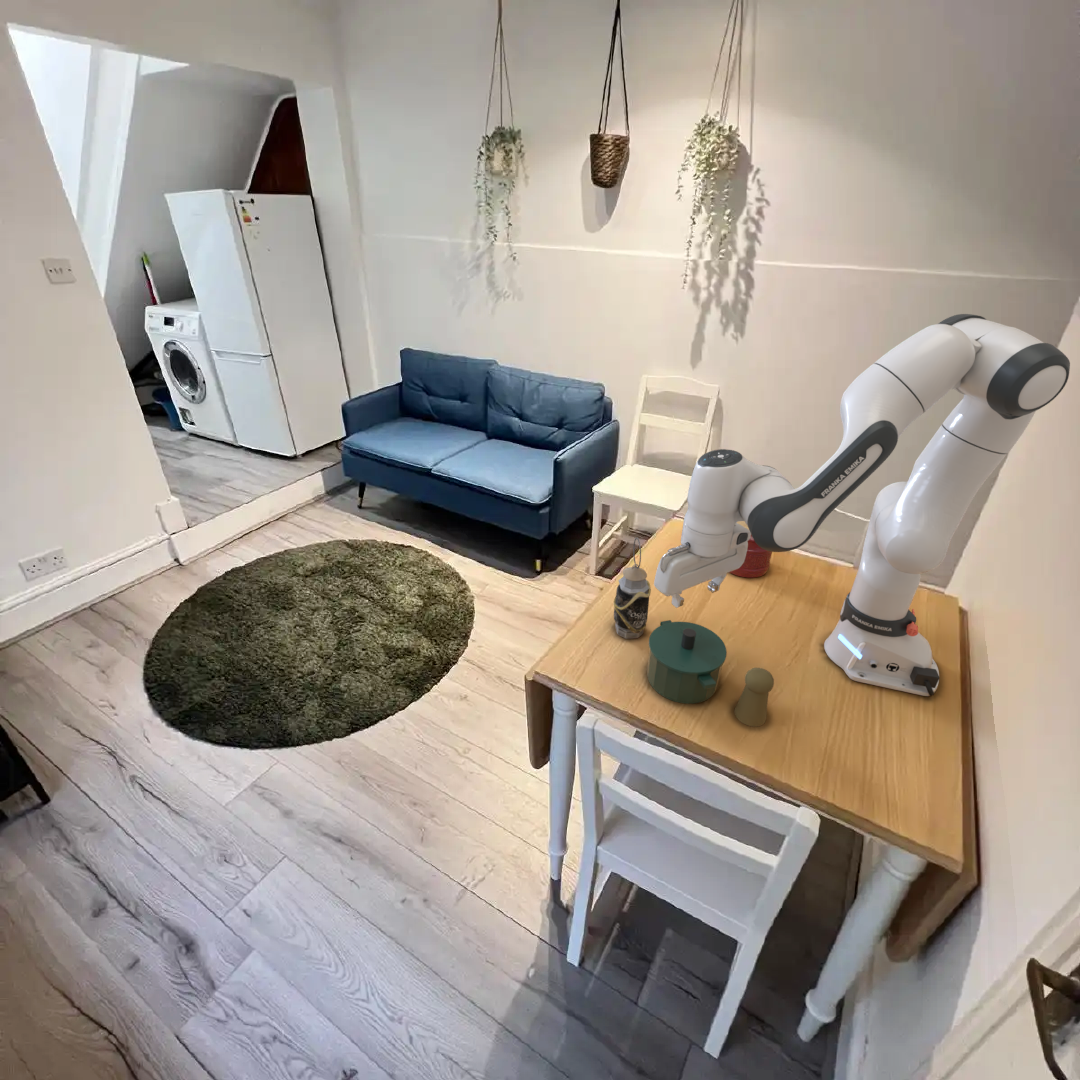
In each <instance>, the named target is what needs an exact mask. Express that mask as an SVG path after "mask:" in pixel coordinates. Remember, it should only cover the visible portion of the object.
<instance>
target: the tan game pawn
mask: <svg viewBox="0 0 1080 1080" xmlns="http://www.w3.org/2000/svg"><path fill="white" fill-rule="evenodd" d="M744 684H745V685H744V688H743V690H742V692H741V694H740V696H739V698H738V701H737V703H736V705H735V708H734V716H735V717H736V719H737V720H738V721H739V722H740V723H742V724H743V725H746V726H749V727H753V728H755V727H756V728H758V727H761V726H763V725H764V724H765V723H766V721H767V715H768V714H767V713H768V702H769V693H770V692H771V691H772V690H773V688H774V686H775V679H774V676H773V674H772V673H771V672H770V671H768V670H767V669H765V668H762V667H753V668H750V669H748V671H747V672H746V673H745V675H744Z"/></svg>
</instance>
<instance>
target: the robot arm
mask: <svg viewBox="0 0 1080 1080" xmlns="http://www.w3.org/2000/svg"><path fill="white" fill-rule="evenodd" d="M1070 369H1071V362H1070V359H1069V357H1068V356H1067V355H1066V354H1065V353H1063V351H1061V350H1060V349H1059V348H1058V347H1056V346H1055V345H1053V344H1051V343H1048V342H1044V341H1042V340H1041V339H1038V338H1037V337H1036V336H1033V335H1032V334H1030V333H1029V332H1026V331H1024V330H1022V329H1020V328H1017V327H1015V326H1008V325H1006V324H1003V323H999V322H996V321H993V320H988V319H987V318H986V317H984V316H982V315H977V314H971V313H959V314H955V315H951V316H948V317H947V318H945V319H943V320H941V321H940V322H938V323H936V324H931V325H928V326H926V327H924V328H922V329H921V330H919V331H917V332H916V333H914V334H912V335H911V336H909V337H907V338H906V339H904V340H903V341H901V342H900V343H899V344H897V345H895V346H894V347H893V348H891V349H890V350H889V351H887V352H886V353H885V354H883V355H882V356H881V357H880V358H877V360H876V361H874V362H873V363H872V364H871V365H870V366H868V367H867V368H866V369H865V370H863V371H862V372H861V373H860V374H859V375H857V377H855V378H854V380H852V382H851V383H850V384H849V385H848V386H847V388H846V389H845V391H843V393H842V395H841V399H840V403H839V404H840V406H839V416H840V420H841V424H842V429H843V430H842V432H843V433H842V440H841V443H840V444H839V446H838V448H837V450H836V451H835V453H833V454H832V456H830V457H829V459H827V461H825V462H824V463H823V464H822V465H821V466H820V467H819V468H818V469H817V470H816V471H815V472H814V473H813V474H812V475H811V476H810V477H808V478H807V479H806V481H805V482H804V483H803V484H801V485H800V486H798V487H796V488H795V487H794V486H793V485H792V484H791V482H790V481H789V480H788V479H787V478H786V476H784V475H783V474H782V472H780V470H778V469H776V468H775V467H773V466H770V465H762V464H758V463H755V462H754V461H752V460H749V459H748V458H746V457H745V456H743V455H742V453H741V452H739V451H738V450H737V451H736V450H733V449H727V448H720V449H714V450H711V451H708V452H705V453H703V454H702V455H701V456H700V457H699V458H698V459H697V461H696V463H695V465H694V467H693V470H692V473H691V477H690V480H689V481H690V482H689V487H688V491H687V497H686V500H687V501H686V502H687V511H686V512H685V514H684V517H683V523H682V530H681V537H680V545H677V546H675V547H671V548H669V549H668V550H667V552H665V554H663V555H662V556H661V557H660V560H659V561H658V565H657V568H656V571H655V576H654V581H653V586H654V588H655V589H656V590H657V591H658V592H659V593H661V594H662V595H663V596H666V597H670V596H671V597H672V598H671V605H672V606H673V607H675V608H676V609H677V608H679V607H680V608H681V607H682V606H684V602H685V598H684V597H683V596H681V595H682V594H683V591H685V590H688V589H690V588H693V587H695V586H698V585H700V584H703V583H706V582H708V583H707V590H708V591H709V592H711V593H712V594H714V593H716V592H719V591H720V586H721V585H722V584H723V582H724V580H725V579H726V577H727V574H728V573H730V572H731V571H733V570H736V569H738V568H740V567H741V566H742V564H743V563H744V561H745V557H746V553H747V548H748V542H747V541H748V540H749V539H750V537H751V535H752V537H753V539H754V541H755V543H756V544H757V545H758V546H759V547H761V548H762V549H764V550H767V551H771V552H772V553H785V552H790V551H794V550H796V549H799V548H800V547H802V546H804V545H805V544H806V543H807V542H809V541H810V539H812V537H813V536H814V535H815V534H816V532H817V530H818V529H819V528H820V526H821V524H823V522H824V521H825V520H826V519H827V518H828V517H829V515H830V514H831V513H832V512H833V511H835V509H836V508H838V506H839V505H841V504H842V503H843V502H844V501H845V500H846V499H847V498H848V497H850V495H851V494H852V493H853V492H855V491H856V490H857V488H859V487H860V486H861V485H862V484H863V483H864V482H865V481H866V480H868V479H869V477H870V476H871V475H873V473H874V472H875V471H876V470H878V468H880V467H881V465H883V463H884V462H885V461H886V460H887V459H888V458H889V457H890V456H891V454H892V453H893V452H894V451H895V449H896V447H897V444H898V441H899V438H900V437H901V436H902V434H903V433H904V432H905V431H906V430H907V429H908V428H909V426H911V425H912V424H913V423H914V422H915V421H916V420H917V419H919V418H920V417H921V416H923V414H925V413H926V412H927V411H928V410H930V409H931V408H932V407H933V406H935V405H936V404H937V403H938V402H939V401H941V399H943V398H944V397H945V396H946V395H947V394H948V393H949V392H950V391H951V390H955V391H957V392H958V393H960V394H962V395H963V398H962V399H961V400H960V401H959V402H958V403H957V404H956V406H955V407H954V408H952V410H951V412H950V413H949V414H948V415H947V416H946V418H945V419H944V421H943V422H942V423H941V425H940V426H939V428H938V429H937V430H936V432H935V433H934V434H933V436H932V437H931V439H930V440H929V441H928V443H927V444H926V446H925V447H924V449H923V450H922V451H921V452H920V454H919V455H918V457H917V459H916V460H915V461H914V464H913V466H912V470H911V473H910V475H909V478H908V480H907V481H897V482H893V483H890V484H888V485H886V486H884V487H883V488H882V489H881V490H879V492H878V494H877V495H876V497H875V500H874V503H873V507H872V510H871V514H870V518H869V522H868V525H867V530H866V534H865V537H864V538H865V539H864V542H863V548H862V553H861V557H860V562H859V564H858V565H859V566H858V569H857V572H856V574H855V577H854V580H853V583H852V587H851V589H850V592H849V593H847V594H846V597H845V599H844V601H843V603H842V607H841V610H840V613H839V620H838V622H837V624H836V626H835V627H834V629H833V630H832V632H831V633H830V634H829V635H828V637H827V638H826V639H825V640H824V643H823V648H824V651H825V654H826V655H827V657H828V658H829V659H830V660H831V661H832V662H833V663H834V664H835V665H837V666H838V667H839V668H841V669H842V670H843V671H844V673H845V674H846V676H847V677H848V678H849V679H850V680H852V681H855V682H857V683H863V684H868V685H872V686H877V687H881V688H886V689H890V690H895V691H899V692H904V693H909V694H913V695H918V696H923V697H930V696H934V695H935V693H936V691H937V689H938V687H939V684H940V683H939V682H940V671H939V667H938V665H937V663H936V661H935V660H934V658H933V651H932V647H931V644H930V642H929V641H928V639H927V638H926V637H925V636H924V635H922V634H921V633H920V632H919V627H918V625H917V624H916V623H917V616H916V612H915V609H914V608H912V610H910V607H911V605H912V603H913V600H914V599H915V595H916V593H917V590H918V588H919V587H920V586H919V585H920V583H921V574H925V573H928V572H931V571H933V570H935V569H936V568H938V567H940V565H941V564H942V563H943V562H944V560H945V559H946V556H947V553H948V550H949V546H950V543H951V540H952V538H953V536H954V534H955V532H956V531H957V529H958V528H959V525H960V524H961V522H962V520H963V518H964V517H965V514H966V512H967V511H968V508H969V507H970V505H971V503H972V501H973V500H974V498H975V497H976V495H977V493H978V491H979V490H980V489H981V488H982V486H983V484H984V483H985V482H986V480H988V478H990V476H991V475H992V473H993V472H994V471H995V470H996V468H997V467H998V466H999V465H1000V464H1001V463H1002V461H1003V460H1004V459H1005V458H1006V456H1007V455H1008V454H1009V453H1010V452H1011V450H1012V449H1013V448H1014V446H1015V445H1016V444H1017V442H1018V441H1019V439H1020V438H1021V437H1022V436H1023V434H1024V432H1025V430H1026V429H1027V427H1028V426H1029V424H1030V422H1031V421H1032V419H1033V417H1034V416H1035V414H1036V412H1037V411H1038V410H1039V411H1040V410H1041V409H1042V408H1044V407H1046V406H1047V405H1049V404H1050V403H1051V402H1052V401H1053V400H1055V399H1056V398H1057V397H1058V396H1059V395H1060V393H1061V392H1062V391H1063V390H1064V389H1065V386H1066V385H1067V383H1068V380H1069V377H1070ZM738 521H745V523H746V524H747V526H748V528H749V530H750V531H749V530H748V529H747V528H745V527H743V526H742V525H740V524H738V523H736V522H738Z"/></svg>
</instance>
